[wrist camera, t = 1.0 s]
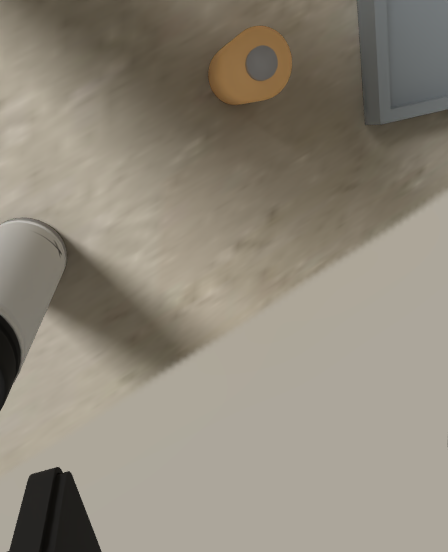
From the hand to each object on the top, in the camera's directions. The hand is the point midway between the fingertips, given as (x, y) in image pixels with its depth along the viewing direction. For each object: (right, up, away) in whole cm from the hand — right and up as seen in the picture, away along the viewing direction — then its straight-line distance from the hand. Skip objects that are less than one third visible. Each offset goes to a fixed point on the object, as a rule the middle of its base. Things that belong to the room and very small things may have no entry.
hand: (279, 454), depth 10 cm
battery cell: (0, +20, +24) cm, 32 cm away
